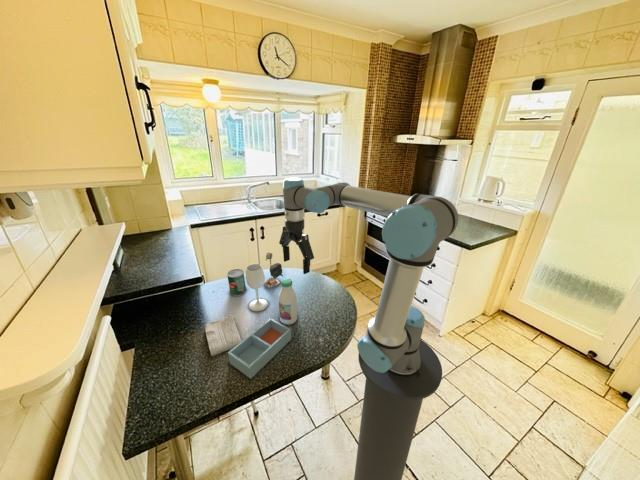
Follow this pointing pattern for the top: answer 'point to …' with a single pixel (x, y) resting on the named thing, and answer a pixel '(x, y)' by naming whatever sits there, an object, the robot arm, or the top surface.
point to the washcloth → (222, 335)
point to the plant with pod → (273, 272)
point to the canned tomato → (236, 282)
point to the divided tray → (259, 347)
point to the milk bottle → (287, 303)
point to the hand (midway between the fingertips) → (296, 266)
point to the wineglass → (256, 285)
